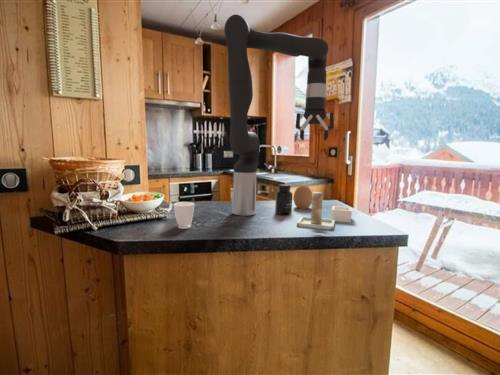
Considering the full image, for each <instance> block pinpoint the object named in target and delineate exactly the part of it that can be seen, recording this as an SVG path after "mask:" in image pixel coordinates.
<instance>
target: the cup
mask: <svg viewBox="0 0 500 375" xmlns="http://www.w3.org/2000/svg"><path fill="white" fill-rule="evenodd" d="M172 206H173V210H174V215H175V220H176V224H177V225H178V226H177V228H178V229H183V230H185V229H190V228H191V227H192V222H193V218H194V212H195V211H194V210H195V206H196V205H195V202H192V201H191V202H190V201H180V202H179V201H178V202H175V203H173V205H172Z"/></svg>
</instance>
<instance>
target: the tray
mask: <svg viewBox="0 0 500 375" xmlns="http://www.w3.org/2000/svg"><path fill="white" fill-rule="evenodd" d="M335 224H336V221H335V219H331V218H323V217H322V223H321V225H318V224H311V216H300V218H299V219H298V221H297V223H296V227H299V228H307V229H317V230H324V231H325V230H326V231H334V228H335Z"/></svg>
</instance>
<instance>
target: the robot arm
mask: <svg viewBox="0 0 500 375" xmlns="http://www.w3.org/2000/svg"><path fill="white" fill-rule="evenodd" d="M223 30H224V36H225V42H226V49H227V61H228V62H227V70H228V71H227V74H228V75H227V76H228V81H227V82H228V94H229V95H228V96H229V110H230V111H229V112H230V126H229V128H230V129H229V144H230V148H231V151H232V152H233V153H234V154H235V155H238V156H239V158H238V161H237V162H236V163H235V164H234V165H233V190H231V214H233V215H236V216H242V217H243V216H252V215H253V216H254V215H255V214H257V213H256V212H257V169H258V166H259V162H260V148H261V147H260V139H259V136H258V135H257V134H256V132H253V131H248V113H249V110H250V107H251V105H252V101H253V98H254V95H253V94H254V92H253V91H254V90H253V78H252V77H253V76H252V72H251V67H250V61H249V57H248V56H249V55H248V49H253V50H254V49H255V50H263V51H269V52H273V53H277V54H278V53H279V54H282V55H286V56H290V57H293V58H295V57H300V56H302V57H307V59H308V60H307V68H308V71H307V78H306V80H307V81H306V89H305V90H306V91H305V105H304V106H305V110H304V113H299V112H297V113H296V116H295V119H296V120H295V129H296V130H299V139H301V141H305V129H306V128H307V127H308V126H309V125H312V126H314V125H317V126H318V125H321V126H322V127H323V128H324V132H323V133H324V134H323V141H324V142H325V141H327V140H328V139H329V131H331V130H333V129H334V128H335V127H334V126H335V122H334V120H335V116H334V112H330V113H329V112H326V106H327V105H326V103H327V70H326V68H327V58H328V53H329V49H330V48H329V44H328V42H327V41H326V40H324V39H322V38H319V37H313V36H299V35H295V34H291V33H287V32H262V31H258V30H255V29H252V28H251V27H249V24H248V21H247V20H246V19H245V18H244V16H242V15H240V14H232V15H230V16H229V17H227V20H226V21H225V24H224V29H223ZM303 118H304V119H305V121H304V122H303V123H302V125H301V120H302V119H303ZM326 118H327V119H328V120H329V126H328V125H327V123H325V121H324V120H325V119H326Z"/></svg>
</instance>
